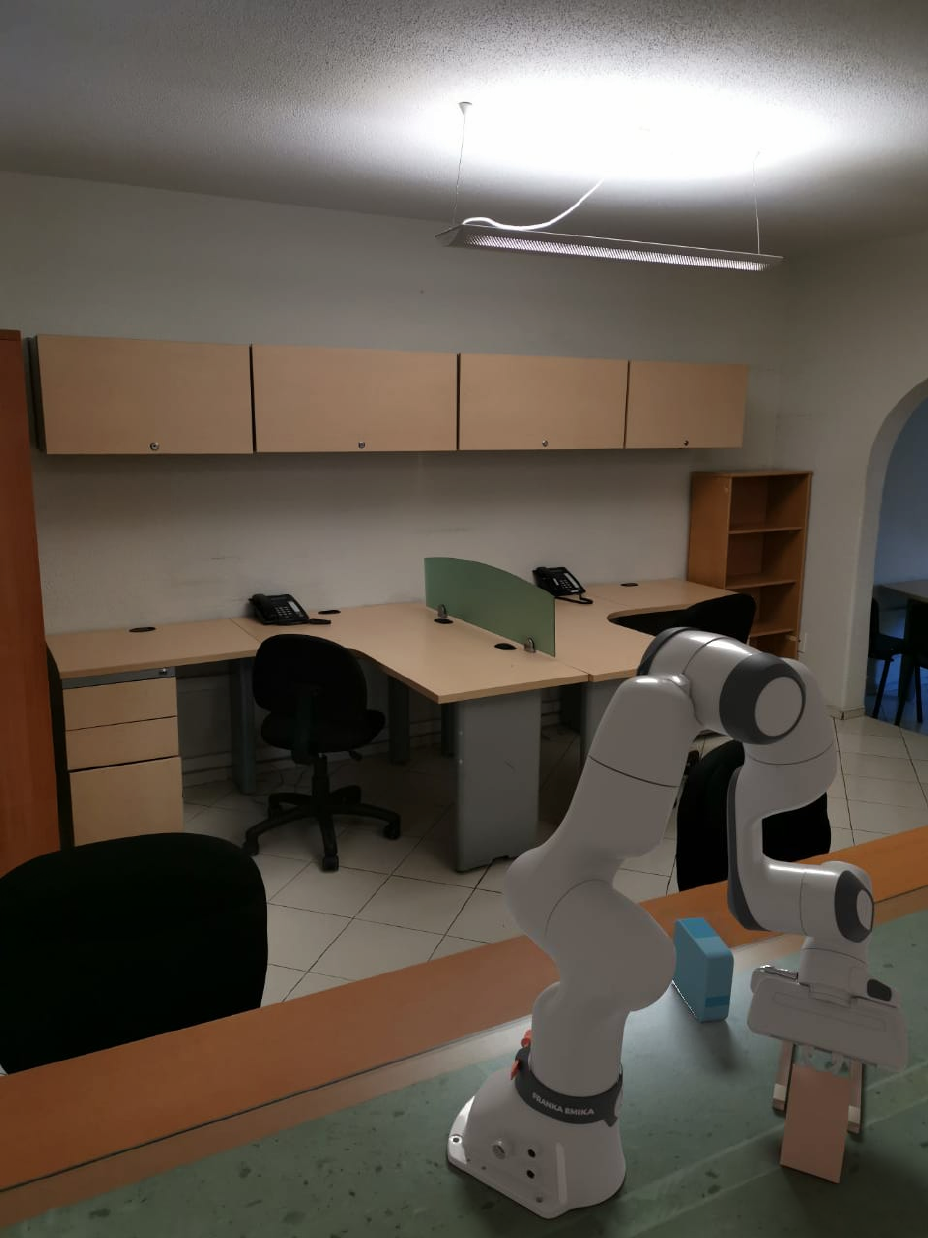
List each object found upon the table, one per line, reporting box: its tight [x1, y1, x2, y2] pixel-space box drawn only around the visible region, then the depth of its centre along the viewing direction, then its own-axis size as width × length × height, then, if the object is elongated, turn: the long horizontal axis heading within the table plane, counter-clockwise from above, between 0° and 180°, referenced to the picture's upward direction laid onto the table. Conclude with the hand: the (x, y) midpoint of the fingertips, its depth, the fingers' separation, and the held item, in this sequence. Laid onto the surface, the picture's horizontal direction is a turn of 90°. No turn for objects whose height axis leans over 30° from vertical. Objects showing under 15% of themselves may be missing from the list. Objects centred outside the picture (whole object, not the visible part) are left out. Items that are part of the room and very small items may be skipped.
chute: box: [771, 1040, 863, 1134], centre depth 136 cm, size 11×23×2 cm, turn 156°
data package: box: [672, 916, 735, 1023], centre depth 149 cm, size 12×4×12 cm, turn 12°
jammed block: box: [779, 1062, 850, 1184], centre depth 119 cm, size 7×8×9 cm
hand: (818, 1087), depth 123 cm, fingers closed, pressing on jammed block
